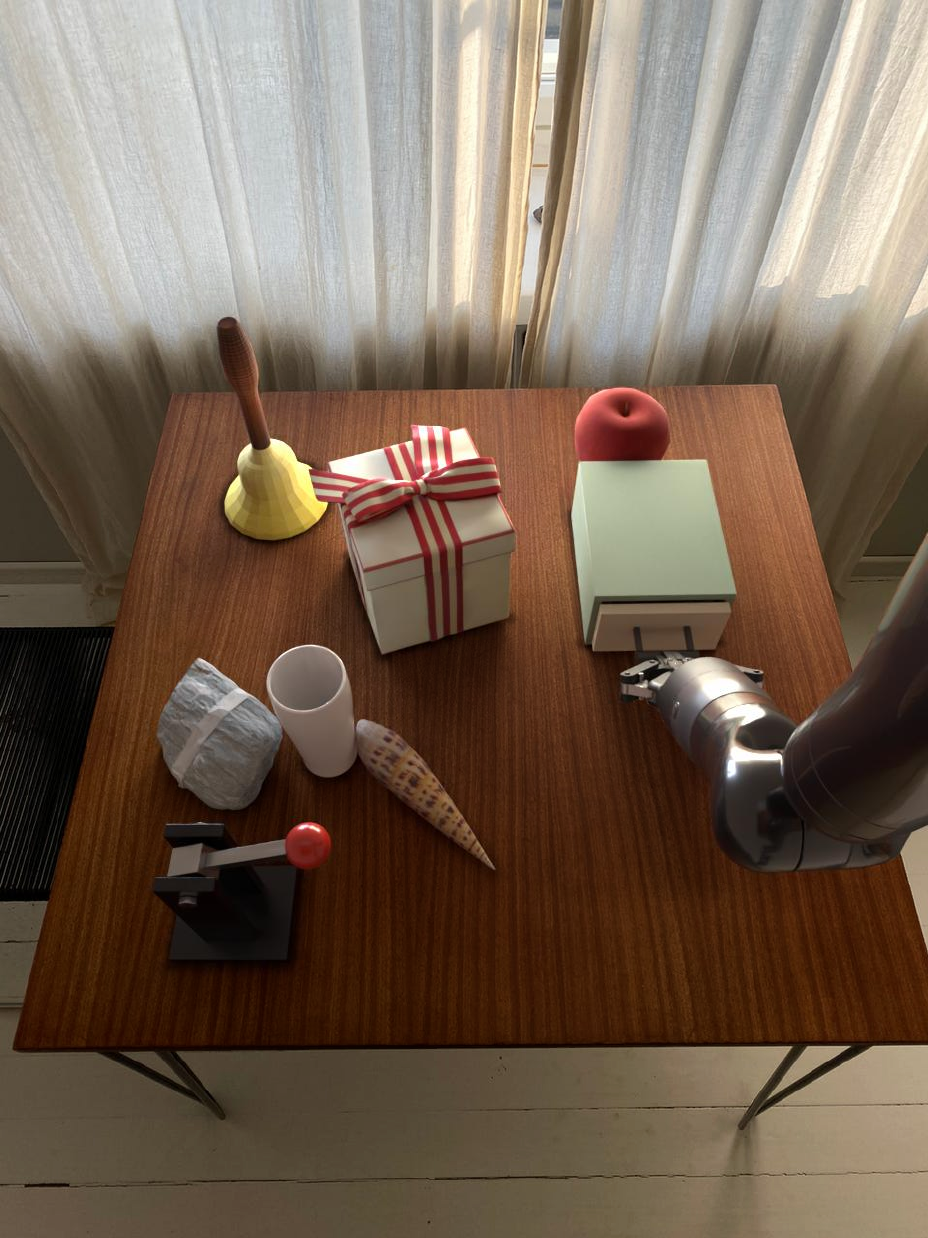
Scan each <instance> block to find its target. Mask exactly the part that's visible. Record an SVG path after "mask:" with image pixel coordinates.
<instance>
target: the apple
mask: <svg viewBox="0 0 928 1238" xmlns="http://www.w3.org/2000/svg"><path fill="white" fill-rule="evenodd" d="M669 420H670V419H669V415H668V413H667V412H666V410H665V409H664V407H663V406H662V404H660V403H659V402H658V401H657V400H656V399H655V398H653V397H652V396H651V395H649V394H647V393H646V392H643V391H641V390H638V389H636V388H630V387H614V388H608V389H607V388H606V389H602V390H599V391H598V392H596V393H594V394H592V395H590V396H589V397H588V399H587V400H586V402H585V404H584V405H583V406H582V408H581V410H580V412H579V414H578V415H577V417H576V419H575V425H574V449H575V452H576V454H577V457H578V459H579V462H593V461H658V460H663V458H664V457H665V453H666V452H667V450H668V448H669V446H670V444H671V426H670V421H669Z"/></svg>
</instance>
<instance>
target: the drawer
mask: <svg viewBox="0 0 928 1238" xmlns="http://www.w3.org/2000/svg"><path fill="white" fill-rule="evenodd" d="M713 602H714V600H659V601H603V602H602V604H600V607H599V611H598V616H597V621H596V625H595V630H594V635H593V639H592V644H591V645H592V652H630V651H631V652H632V651H635V652H634V656H633V661H634V666H637V665H639V664H641V663H643V662H646V661H649V660H655V659H656V655H660V653H661V650H677V651H678V652H679V653H680V654H681V655H684V656H686V657H687V658H692V659H697V658H700V652H699V650H700V651H706V650H716V648H717V646H718V643H719V641H720V639H721V637H722V634H723V631H724V630H725V627H726V625H727V623H728V621H729V618H730V617H731V614H732V610H731V609H732V608H731V609H730V604H729V602H721V603H713Z"/></svg>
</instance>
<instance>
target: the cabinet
mask: <svg viewBox="0 0 928 1238" xmlns="http://www.w3.org/2000/svg"><path fill="white" fill-rule="evenodd" d="M576 472H577V473H576V479H575V487H574V493H573V501H572V508H571V513H570V514H571V515H570V516H571V525H572V534H573V544H574V554H575V562H576V563H575V564H576V573H577V581H578V591H579V600H580V609H581V610H580V611H581V620H582V629H583V631H582V632H583V641H584V645H592V639H593V635H594V630H595V625H596V621H597V616H598V611H599V607H600V604H602V602H603V601H659V600H714V602H713V603H721V602H729V604H730V609H732V607H733V605H734V602H735V600H736V598H737V596H738V592H737V588H736V584H735V579H734V575H733V571H732V566H731V561H730V557H729V553H728V548H727V544H726V540H725V535H724V531H723V527H722V521H721V517H720V513H719V508H718V504H717V500H716V496H715V491H714V486H713V481H712V478H711V474H710V469H709V464H708V460H707V459H670V460H669V459H667V460H663V459H661V460H658V461H593V462H581V461H578V466H577V471H576Z"/></svg>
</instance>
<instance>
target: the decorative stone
mask: <svg viewBox="0 0 928 1238" xmlns="http://www.w3.org/2000/svg"><path fill="white" fill-rule="evenodd" d="M173 689H174V690H173V691H172V693H171V695H170V697H169V699H168V701H167V702H166V704H165V705H164V707H163V709H162V711H161V714H160V716H159V720H158V726H157V727H158V729H157V735H156V737H157V741H158V743H159V744H160V746H161V748H162V757H163V760H164V762H165V763H166V766H167V767H168V770H169V772H170V774H171V776H173V777H174V779H175V781H176V782H177V783H178V785H177V786H178V787H179V788H181V789H187V790H189V791H190V792H191V793H193V794H194V795H195V796H196V797H197V798H198V799H199V800H200V801H201V802H203V803H204V804H206V805H207V806H208V807H210V808H213V809H216V810H230V811H238V810H243V809H245V808H247V807H248V806H249V805H250V804H251V803H253V802H254V801H255V800H256V799H257V798H258V796H259V794H260V792H261V789H262V787H263V784H264V783H263V782H264V781H265V779H266V777H267V775H268V774H269V772H270V771H271V769H272V767H273V766H274V759H275V758H276V755H277V754H278V752H279V750H280V744H281V743H282V739H283V737H284V735H283V726H282V725H281V723H280V721H279V720H278V718H277V716H275V714H273V712H271V711H270V710H269V708H268V707H267V706H266V705H265V704H264V703H262V702H261V701H260V700H259V699H258V698H256V697H255V696H254V695H252V694H250V693H248V692H246V691H245V690H244V689H242V688H241V687H239V686H238V685H237V684H236V683H235V681H233V680H232V679H230V678H229V677H227V676H226V675H224V674H223V673H221V672H220V671H219V670H218V669H217V668H216V667H215V666H214V665H213V664H211V663H209V662H208V661H206V660H204V659H202V658H200V657H198V658H196V659H195V660H194V661H193V663H192V664H191V665H190V666H189V668H188V669H187V671H186V673H185V674H184V675H183V676H182V678H181V679H180V680H179V682H178V683H177V684H176V686H175V687H174V688H173Z"/></svg>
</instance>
